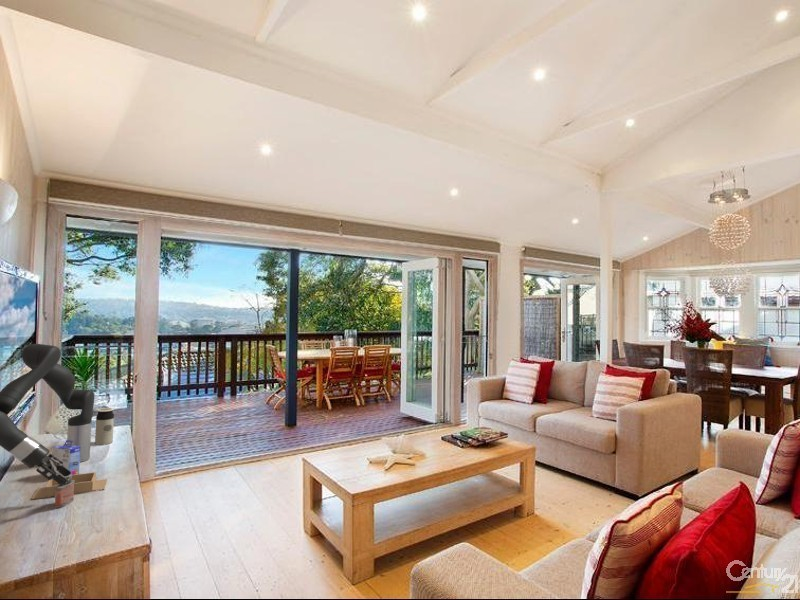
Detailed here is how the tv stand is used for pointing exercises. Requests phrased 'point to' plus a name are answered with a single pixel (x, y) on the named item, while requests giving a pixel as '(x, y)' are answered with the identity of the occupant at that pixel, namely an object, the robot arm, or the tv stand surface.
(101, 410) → the travel mug
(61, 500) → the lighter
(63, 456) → the ink cartridge box
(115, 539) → the tv stand surface
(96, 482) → the mailer box
